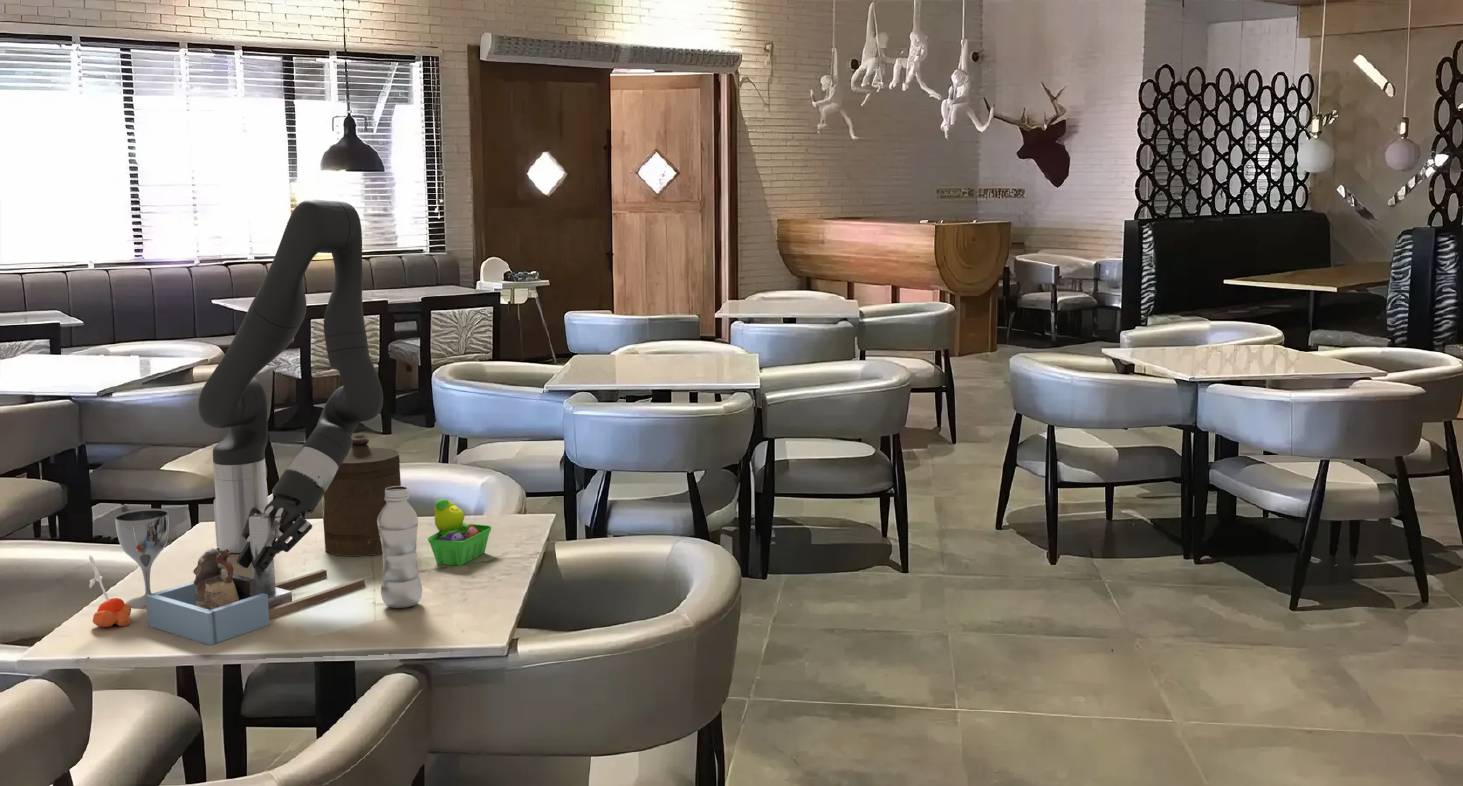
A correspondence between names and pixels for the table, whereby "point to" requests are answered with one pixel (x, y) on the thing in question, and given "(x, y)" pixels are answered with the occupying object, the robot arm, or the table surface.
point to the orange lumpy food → (109, 606)
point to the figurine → (214, 580)
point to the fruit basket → (456, 536)
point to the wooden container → (358, 499)
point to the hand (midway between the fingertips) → (249, 567)
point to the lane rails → (314, 597)
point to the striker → (261, 580)
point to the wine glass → (143, 541)
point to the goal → (204, 615)
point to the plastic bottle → (399, 550)
